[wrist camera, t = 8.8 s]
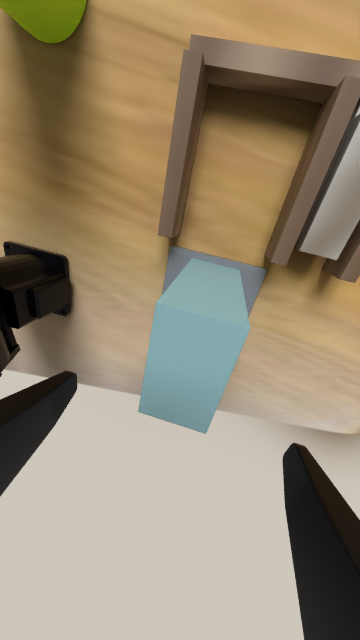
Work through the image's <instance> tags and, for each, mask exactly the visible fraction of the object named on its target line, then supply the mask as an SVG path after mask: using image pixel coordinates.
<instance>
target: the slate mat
mask: <svg viewBox="0 0 360 640" xmlns="http://www.w3.org/2000/svg"><path fill="white" fill-rule="evenodd" d="M192 258H194V259H198V260H202V261H206V262H210V263H214V264H217V265H221V266H225V267H229V268H233V269H237V270H240V274H241V280H242V286H243V291H244V297H245V302H246V308H247V313H248V317H249V314H250V312H251V309H252V307H253V304H254V302H255V299H256V297H257V294H258V292H259V289H260V287H261V284H262V282H263V279H264V277H265V274H266V272H267V269H266V268H262V267H258V266H254V265H250V264H246V263H242V262H238V261H234V260H230V259H226V258H222V257H217V256H213V255H209V254H205V253H201V252H197V251H193V250H189V249H185V248H181V247H177V246H173V245H172V246H170V251H169V257H168V263H167V269H166V274H165V280H164V286H163V292H162V295H163V293H164V292H165V291H166V290H167V289H168V287H169V286H170V285H171V284H172V282H173V281H174V280H175V279H176V277H177V276H178V275H179V274H180V272H181V271H182V270H183V269H184V268H185V266H186V265H187V264H188V263H189V261H190V260H191V259H192Z"/></svg>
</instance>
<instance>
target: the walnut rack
mask: <svg viewBox="0 0 360 640" xmlns="http://www.w3.org/2000/svg"><path fill="white" fill-rule="evenodd" d="M208 84H213V85H219V86H225V87H230V88H236V89H242V90H247V91H253V92H259V93H264V94H270V95H275V96H281V97H287V98H292V99H298V100H304V101H309V102H315V103H321V104H322V105H321V108H320V110H319V113H318V115H317V118H316V121H315V123H314V126H313V129H312V131H311V134H310V136H309V139H308V142H307V144H306V147H305V150H304V152H303V155H302V157H301V160H300V163H299V165H298V168H297V171H296V173H295V176H294V178H293V181H292V184H291V186H290V189H289V192H288V194H287V197H286V199H285V202H284V205H283V207H282V210H281V213H280V215H279V218H278V221H277V223H276V226H275V228H274V231H273V234H272V236H271V239H270V242H269V244H268V247H267V249H266V252H265V256H266V257H267V258H268V260H269V261H270V262H271V263H275V264H279V265H283V266H286V264H287V262H288V260H289V257H290V255H291V253H292V251H293V248H294V246H295V244H296V241H297V239H298V237H299V235H300V232H301V230H302V228H303V226H304V223H305V221H306V219H307V216H308V214H309V212H310V210H311V207H312V205H313V203H314V200H315V198H316V196H317V194H318V191H319V189H320V187H321V184H322V182H323V180H324V178H325V175H326V173H327V171H328V168H329V166H330V164H331V162H332V159H333V157H334V155H335V152H336V150H337V148H338V146H339V143H340V141H341V139H342V136H343V134H344V132H345V130H346V127H347V125H348V123H349V121H350V118H351V116H352V114H353V111H354V109H355V107H356V105H357V103H358V102H359V101H360V61H358V60H351V59H345V58H339V57H332V56H326V55H320V54H313V53H307V52H301V51H294V50H288V49H282V48H275V47H269V46H263V45H256V44H250V43H243V42H237V41H231V40H224V39H218V38H212V37H205V36H199V35H193V34H191V40H190V46H189V50H185V49H184V52H183V59H182V66H181V73H180V81H179V88H178V95H177V102H176V109H175V116H174V123H173V130H172V138H171V145H170V152H169V159H168V166H167V173H166V180H165V187H164V195H163V202H162V209H161V216H160V223H159V230H158V235H161V236H165V237H169V238H173V237H175V236H177V235H179V234H180V232H181V226H182V221H183V215H184V210H185V205H186V199H187V194H188V189H189V183H190V178H191V173H192V167H193V162H194V157H195V151H196V146H197V141H198V135H199V130H200V124H201V119H202V114H203V108H204V103H205V98H206V92H207V87H208ZM322 269H323V270H325V271H327V272H328V273H330V274H332V275H333V276H335V277H337V278H338V279H341V280H345V281H349V282H353V283H355V282H356V281H357V279H358V277H359V276H360V220H359V221H358V223H357V225H356V227H355V228H354V230H353V232H352V234H351V236H350V237H349V239H348V241H347V243H346V245H345V246H344V248H343V250H342V252H341V253H340V255H339V257H338V259H337V260H334V259H330V258H327V260H326V262H325V264H324V266H323V268H322Z"/></svg>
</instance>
